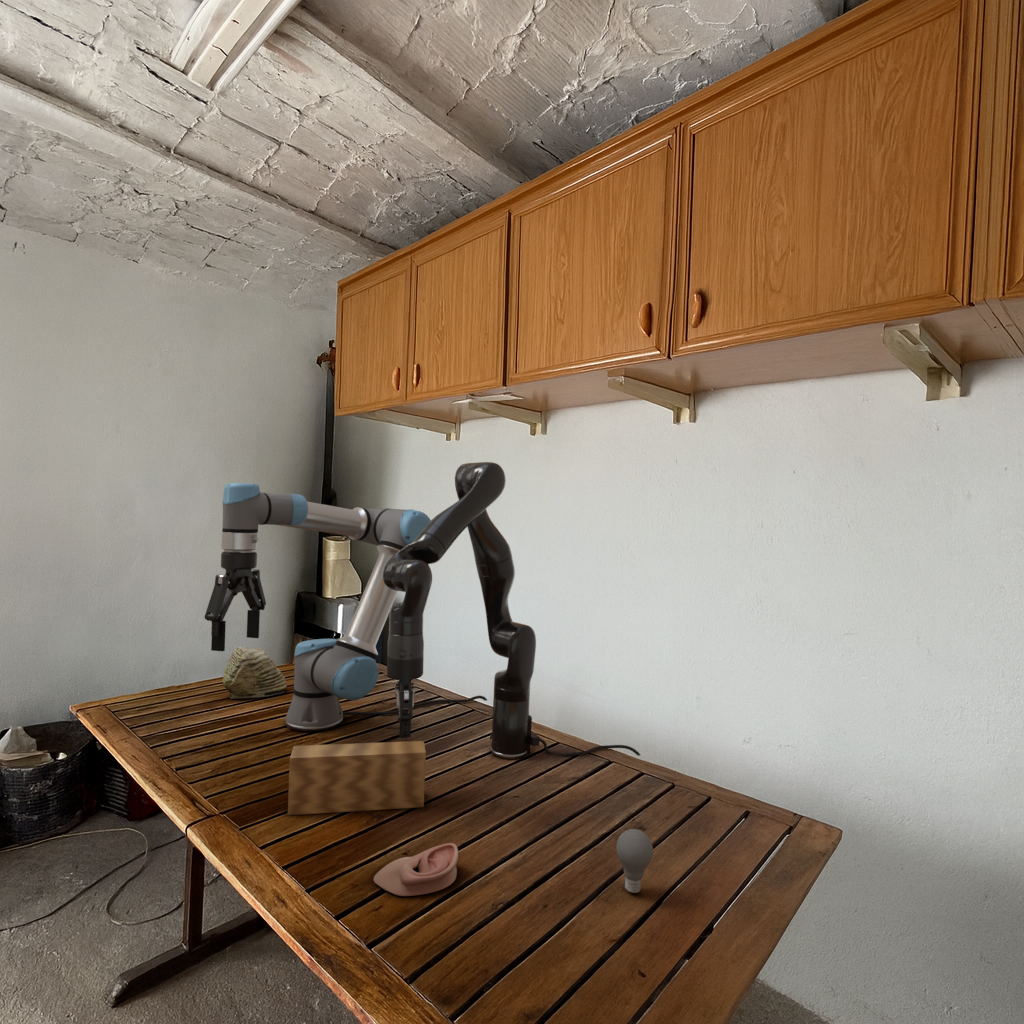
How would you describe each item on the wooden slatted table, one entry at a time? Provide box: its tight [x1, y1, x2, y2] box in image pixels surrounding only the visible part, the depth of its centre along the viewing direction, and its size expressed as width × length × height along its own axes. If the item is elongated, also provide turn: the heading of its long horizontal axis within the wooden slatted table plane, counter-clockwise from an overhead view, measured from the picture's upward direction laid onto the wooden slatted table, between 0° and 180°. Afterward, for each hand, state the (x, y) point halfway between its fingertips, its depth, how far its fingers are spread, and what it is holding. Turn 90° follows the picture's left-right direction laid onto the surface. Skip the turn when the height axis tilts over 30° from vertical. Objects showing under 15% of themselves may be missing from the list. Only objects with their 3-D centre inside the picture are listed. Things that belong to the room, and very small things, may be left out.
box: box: [287, 740, 427, 816], centre depth 131 cm, size 27×6×12 cm, turn 102°
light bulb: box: [615, 828, 654, 894], centre depth 106 cm, size 6×6×10 cm
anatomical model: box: [373, 842, 459, 897], centre depth 107 cm, size 13×4×12 cm
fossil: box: [222, 646, 288, 699], centre depth 198 cm, size 9×18×15 cm, turn 132°
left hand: (236, 644), depth 144 cm, fingers open, 13 cm apart
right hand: (403, 729), depth 133 cm, fingers open, 8 cm apart
